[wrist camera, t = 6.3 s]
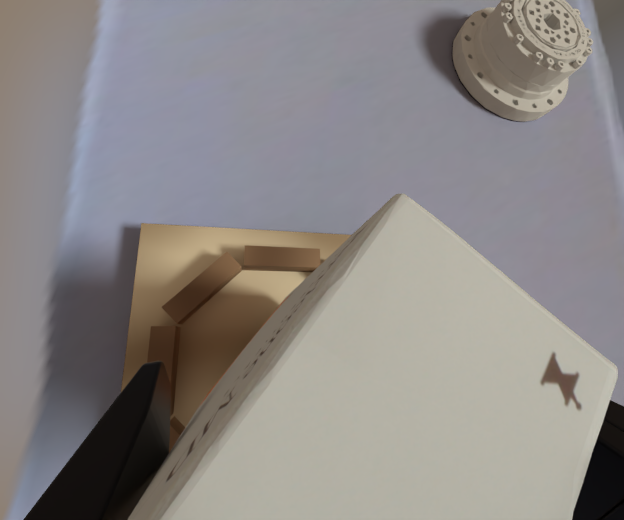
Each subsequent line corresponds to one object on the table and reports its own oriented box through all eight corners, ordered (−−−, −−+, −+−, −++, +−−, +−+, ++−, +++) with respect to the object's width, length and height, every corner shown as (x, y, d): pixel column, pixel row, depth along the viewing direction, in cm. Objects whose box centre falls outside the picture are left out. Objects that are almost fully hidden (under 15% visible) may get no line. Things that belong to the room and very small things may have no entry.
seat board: (408, 498, 16) (435, 524, 14) (112, 538, 13) (86, 580, 11) (388, 243, 20) (408, 231, 17) (148, 231, 17) (133, 214, 14)
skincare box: (285, 294, 16) (407, 172, 4) (350, 347, 16) (640, 369, 4) (197, 400, 14) (-6, 701, 2) (273, 461, 14) (440, 1050, 2)
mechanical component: (454, 7, 27) (444, 100, 24) (493, -54, 22) (487, 50, 20) (551, 48, 28) (553, 139, 25) (605, -3, 24) (614, 101, 21)
